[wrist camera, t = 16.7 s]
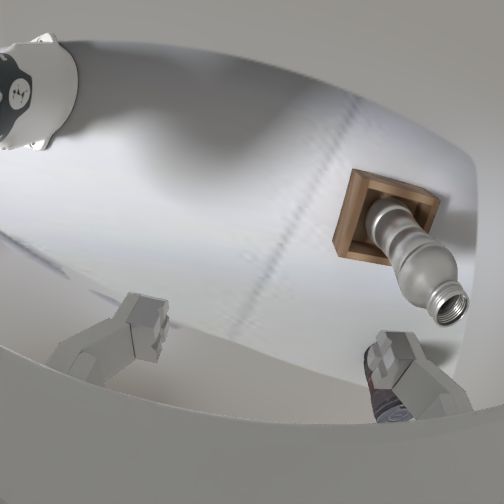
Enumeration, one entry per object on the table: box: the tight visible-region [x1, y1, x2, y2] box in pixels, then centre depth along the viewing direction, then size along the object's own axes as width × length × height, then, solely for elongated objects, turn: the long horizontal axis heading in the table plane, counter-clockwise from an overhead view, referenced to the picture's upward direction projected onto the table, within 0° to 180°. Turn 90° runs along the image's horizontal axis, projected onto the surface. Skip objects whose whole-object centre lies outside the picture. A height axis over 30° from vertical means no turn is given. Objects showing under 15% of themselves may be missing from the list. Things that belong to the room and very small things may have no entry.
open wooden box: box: [332, 169, 440, 266], centre depth 37 cm, size 12×10×4 cm
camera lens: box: [364, 346, 413, 423], centre depth 45 cm, size 8×8×15 cm
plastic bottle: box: [365, 197, 469, 327], centre depth 29 cm, size 6×7×20 cm
